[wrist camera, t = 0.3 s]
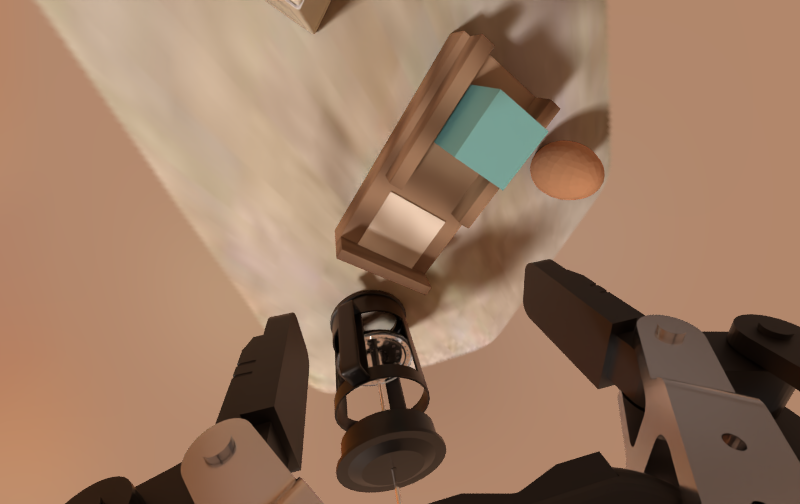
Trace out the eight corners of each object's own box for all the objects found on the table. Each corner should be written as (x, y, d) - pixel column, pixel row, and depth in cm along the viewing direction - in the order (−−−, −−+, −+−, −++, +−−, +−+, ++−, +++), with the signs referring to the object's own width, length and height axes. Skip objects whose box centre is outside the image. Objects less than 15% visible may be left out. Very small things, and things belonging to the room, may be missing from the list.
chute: (450, 33, 25) (477, 27, 21) (529, 105, 30) (567, 113, 25) (334, 230, 32) (336, 258, 28) (413, 265, 36) (425, 295, 32)
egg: (509, 178, 33) (555, 206, 27) (532, 127, 31) (589, 145, 24) (548, 188, 35) (600, 218, 28) (572, 141, 33) (636, 161, 26)
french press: (418, 329, 42) (497, 556, 23) (356, 359, 43) (382, 605, 23) (379, 267, 36) (442, 508, 16) (306, 303, 36) (286, 578, 17)
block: (470, 84, 24) (500, 89, 20) (513, 120, 27) (548, 131, 22) (433, 141, 26) (454, 157, 22) (476, 171, 28) (503, 190, 24)
